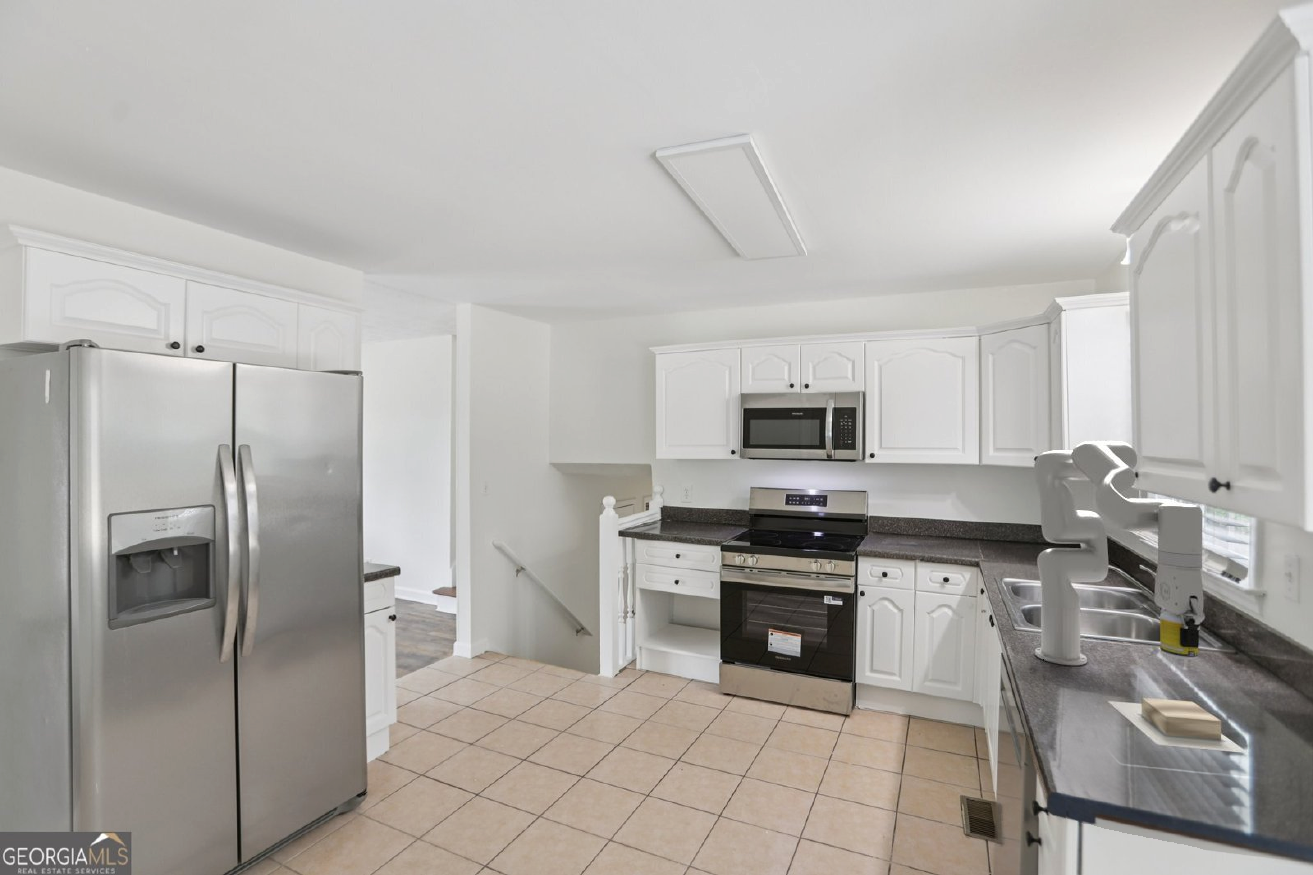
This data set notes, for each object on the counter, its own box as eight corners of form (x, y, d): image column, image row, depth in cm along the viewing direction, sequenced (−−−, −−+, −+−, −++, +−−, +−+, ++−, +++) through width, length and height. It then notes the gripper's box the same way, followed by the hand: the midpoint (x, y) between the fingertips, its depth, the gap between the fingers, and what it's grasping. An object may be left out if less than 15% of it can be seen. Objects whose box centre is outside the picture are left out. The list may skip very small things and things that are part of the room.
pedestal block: (1141, 715, 145) (1141, 697, 145) (1192, 719, 142) (1192, 701, 142) (1166, 735, 135) (1166, 716, 135) (1221, 740, 133) (1221, 721, 133)
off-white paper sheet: (1107, 702, 152) (1107, 700, 152) (1184, 708, 149) (1184, 707, 149) (1157, 746, 131) (1157, 744, 131) (1248, 754, 127) (1248, 753, 127)
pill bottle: (1183, 661, 135) (1184, 607, 135) (1152, 651, 141) (1152, 599, 141) (1206, 659, 136) (1206, 605, 136) (1174, 649, 143) (1174, 597, 143)
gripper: (1139, 552, 148) (1139, 628, 148) (1183, 567, 131) (1182, 653, 131) (1176, 553, 146) (1176, 630, 146) (1225, 569, 129) (1225, 656, 129)
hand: (1179, 640), depth 139 cm, fingers closed on pill bottle, 6 cm apart
